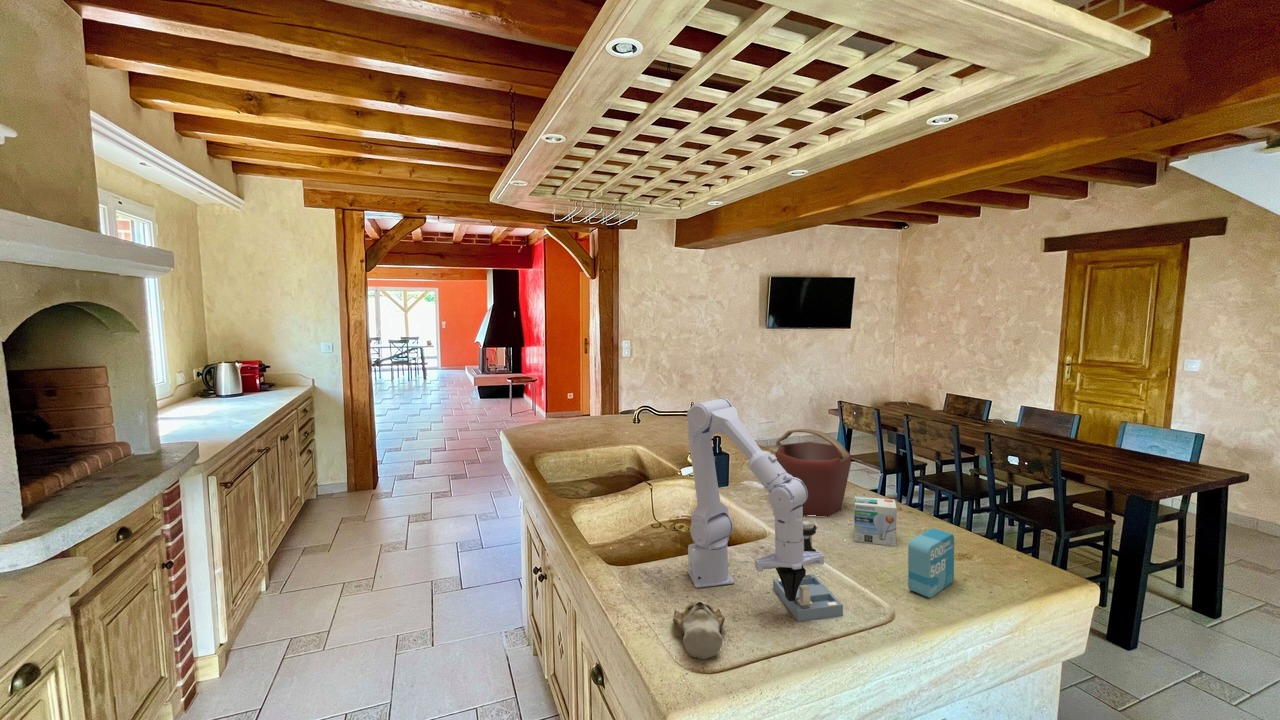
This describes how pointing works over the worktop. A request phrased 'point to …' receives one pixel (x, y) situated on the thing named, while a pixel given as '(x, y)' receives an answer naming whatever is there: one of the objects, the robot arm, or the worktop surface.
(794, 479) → the robot arm
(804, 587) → the tab near
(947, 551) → the data package
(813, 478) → the bucket
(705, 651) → the ceramic sculpture
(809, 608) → the dip bank
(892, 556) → the worktop surface
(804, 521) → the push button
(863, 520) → the light bulb box
